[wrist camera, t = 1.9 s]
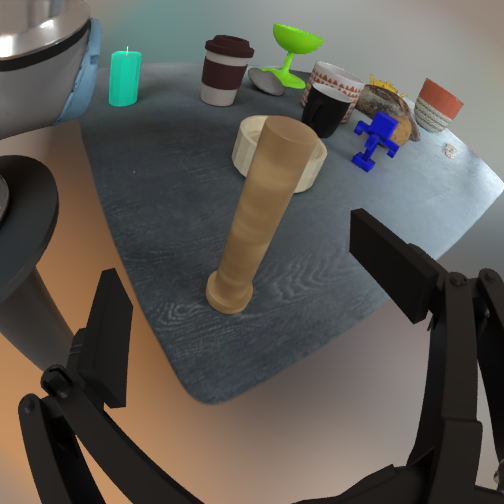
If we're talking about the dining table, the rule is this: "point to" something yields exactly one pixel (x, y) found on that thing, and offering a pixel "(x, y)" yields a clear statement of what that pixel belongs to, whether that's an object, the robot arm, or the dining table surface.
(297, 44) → the wineglass
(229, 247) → the wooden pestle
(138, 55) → the candle
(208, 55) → the coffee cup
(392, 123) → the figurine
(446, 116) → the planter
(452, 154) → the white lumpy piece
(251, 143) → the bowl
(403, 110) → the bread
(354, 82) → the white patterned cup
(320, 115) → the mug
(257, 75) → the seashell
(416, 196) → the dining table surface
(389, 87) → the teapot
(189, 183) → the dining table surface
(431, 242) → the dining table surface
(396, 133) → the potato
